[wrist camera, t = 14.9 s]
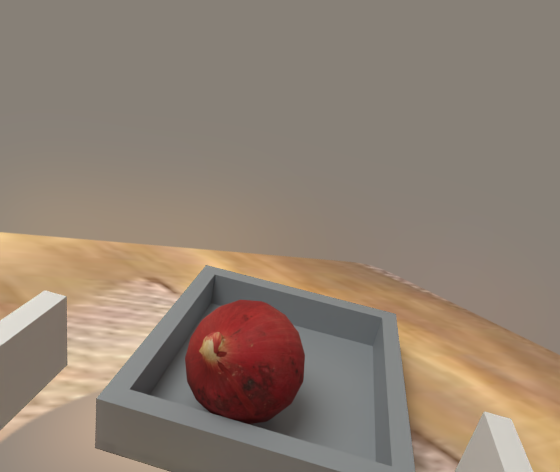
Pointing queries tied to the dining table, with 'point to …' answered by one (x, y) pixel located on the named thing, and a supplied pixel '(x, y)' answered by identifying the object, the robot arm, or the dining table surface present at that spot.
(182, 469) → the tray
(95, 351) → the dining table surface
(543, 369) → the dining table surface
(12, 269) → the dining table surface
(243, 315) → the onion
